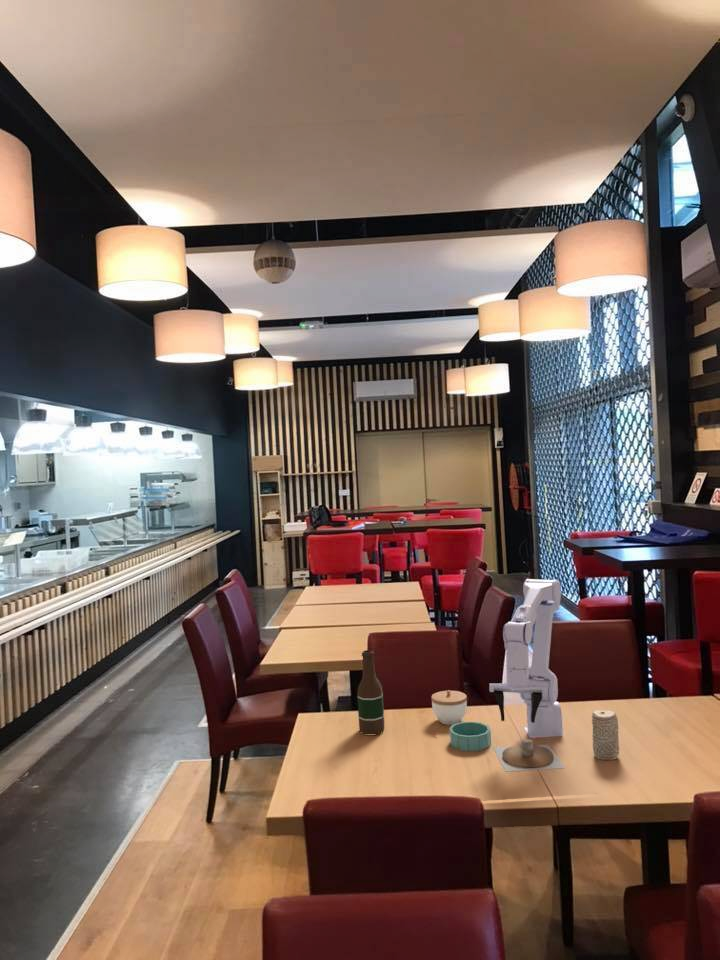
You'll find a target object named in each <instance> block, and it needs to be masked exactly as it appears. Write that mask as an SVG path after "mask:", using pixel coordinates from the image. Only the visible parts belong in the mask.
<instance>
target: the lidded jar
mask: <svg viewBox="0 0 720 960" xmlns="http://www.w3.org/2000/svg"><path fill="white" fill-rule="evenodd" d="M430 699H431V705H432V706H431V707H432V711H433V714H434V716H435V718H436V719H437V720H439V723H441V724H443V725H446V726H452V725H453V724H457V723H460V722H461V721H462V720H463V718H464V717H465V715H466V713H467V703H468V701H467V700H468V698H467V694H465V693H464V692H462V691H459V690H450V689H448V690H442V691H441V690H440V691H437V692H435V693H432V695H431V698H430Z"/></svg>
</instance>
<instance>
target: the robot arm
mask: <svg viewBox="0 0 720 960" xmlns="http://www.w3.org/2000/svg"><path fill="white" fill-rule="evenodd" d="M522 585H523V587H522V592H523V597H524V601H523V604H521V605H519V606H518V607H517V608H516V610H515V612H514V614H513V616H512V618H511V620H510V621H508V622H506V623H505V624H504V625H503V630H502V638H503V642H504V643H503V644H504V650H506V682H504V683H501V682H500V683H489V692H490V693H493V696H494V697H495V700H496V704H498V708H499V713H500V721H501V722H505V708H504V707H505V706H504V705H505V694H504V693H513V694H515V693H517V694H518V693H519V697H520V698H521V700H523V701H524V704H525V705H526V719H527V720H526V724H527V726H525V727H523V730H525V732H526V733H527V735H528V737H529V738H531V739H534V738H549V737H563V736H564V732H563V731H564V730H563V729H564V728H563V714H562V708H561V707H562V706H561V705H560V702H559V701H557V700H558V695H559V688H558V678H557V676H556V674H555V673H554V672H553V671H551V669H550V668H549V667H550V651H551V643H552V630H553V629H552V628H553V619H554V614H555V612H556V611H559V610H560V606H561V600H562V599H561V597H562V589H561V583H560V581H559V580H558V579H532V578H526V579H525V580H524V582H523V584H522ZM533 626H534V629H533ZM533 630H534V635H533ZM532 635H533V636H532ZM532 637H533V646H532V647H533V648H532V657H531V666H530V667H529V664H530V663H529V656H530V655H529V645H530V643H531V641H532Z"/></svg>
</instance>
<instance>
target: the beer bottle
mask: <svg viewBox="0 0 720 960" xmlns="http://www.w3.org/2000/svg"><path fill="white" fill-rule="evenodd" d="M374 654H375V653H374V651H373V650H369V649H366V650H363V651H362V652H361V656H362V678H361V680H360V682H359V684H358V687H357V693H356V694H357V695H356V696H357V708H358V709H357V710H358V711H357V712H358V727H359V728H358V729H359V732H362V733H364V734H377V735H379V734H378V733H380V734H382V733H381V732H383V733H384V730H385V709H384V693H383V692H384V691H383V687H382V684H381V681H379V678H377V674H376V669H375V661H374ZM362 733H361V734H362ZM364 734H363V735H364Z"/></svg>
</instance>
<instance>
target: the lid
mask: <svg viewBox="0 0 720 960" xmlns="http://www.w3.org/2000/svg"><path fill="white" fill-rule="evenodd" d="M508 747H509V748H507V749H505V750H504V751H503V753H502V755H503V760H504V761H505V762H507V763H508V764H510V765H513V766H516V767H521V768H539V767H544V766H547V765H549V764H551V763H552V762H553V759H554V758H553V753H552V752H551V751H550V750H548V749H546V748H544V747H541V746H536V744H534V741H533V740H532V739H529V738H528V739H527V738H524V739H521V740H520V744H515V745H511V746H508Z"/></svg>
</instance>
